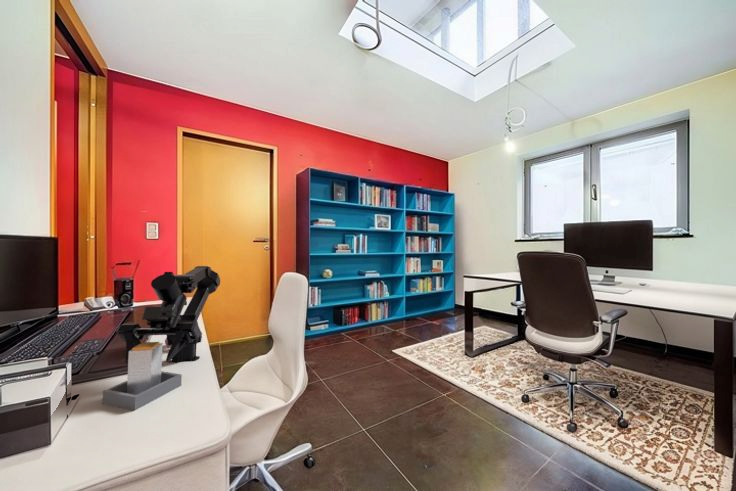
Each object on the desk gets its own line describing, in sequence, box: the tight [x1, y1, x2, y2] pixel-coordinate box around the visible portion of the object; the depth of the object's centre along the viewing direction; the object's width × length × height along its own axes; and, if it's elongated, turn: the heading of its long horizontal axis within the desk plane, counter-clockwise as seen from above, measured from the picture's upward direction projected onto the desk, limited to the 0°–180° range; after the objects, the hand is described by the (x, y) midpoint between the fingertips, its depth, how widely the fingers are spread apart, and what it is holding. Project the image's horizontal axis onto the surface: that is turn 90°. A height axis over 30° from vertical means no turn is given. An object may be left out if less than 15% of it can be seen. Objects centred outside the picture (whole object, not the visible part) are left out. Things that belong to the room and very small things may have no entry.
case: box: [101, 370, 183, 411], centre depth 70 cm, size 12×10×4 cm
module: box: [126, 341, 163, 395], centre depth 70 cm, size 5×5×13 cm
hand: (147, 362), depth 71 cm, fingers open, 9 cm apart
